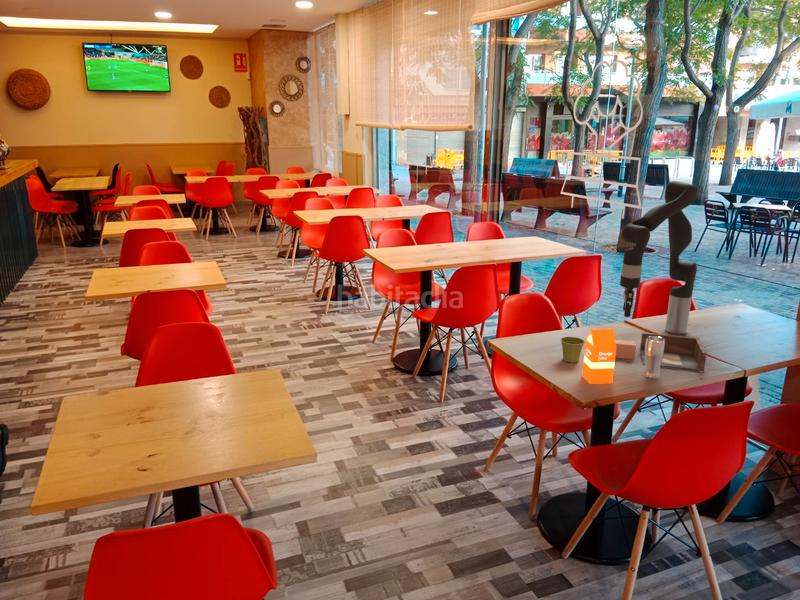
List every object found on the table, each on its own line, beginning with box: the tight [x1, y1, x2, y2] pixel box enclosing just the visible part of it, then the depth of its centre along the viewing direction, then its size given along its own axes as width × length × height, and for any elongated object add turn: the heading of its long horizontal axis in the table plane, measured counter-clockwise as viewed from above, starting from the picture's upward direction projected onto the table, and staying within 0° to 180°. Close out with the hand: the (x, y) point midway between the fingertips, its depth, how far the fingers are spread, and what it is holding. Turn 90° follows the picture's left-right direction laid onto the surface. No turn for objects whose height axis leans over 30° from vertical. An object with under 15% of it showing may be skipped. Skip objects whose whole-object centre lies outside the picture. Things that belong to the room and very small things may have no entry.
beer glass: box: [642, 336, 665, 380], centre depth 233 cm, size 7×7×15 cm
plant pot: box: [560, 336, 586, 364], centre depth 249 cm, size 9×9×9 cm
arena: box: [639, 331, 707, 373], centre depth 249 cm, size 18×22×8 cm
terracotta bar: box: [615, 339, 637, 360], centre depth 255 cm, size 10×5×6 cm, turn 74°
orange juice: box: [581, 328, 616, 385], centre depth 229 cm, size 8×9×20 cm
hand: (626, 313), depth 250 cm, fingers open, 8 cm apart
